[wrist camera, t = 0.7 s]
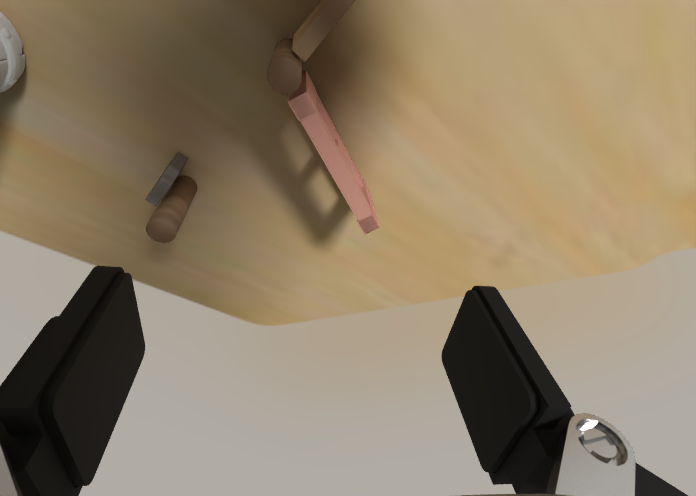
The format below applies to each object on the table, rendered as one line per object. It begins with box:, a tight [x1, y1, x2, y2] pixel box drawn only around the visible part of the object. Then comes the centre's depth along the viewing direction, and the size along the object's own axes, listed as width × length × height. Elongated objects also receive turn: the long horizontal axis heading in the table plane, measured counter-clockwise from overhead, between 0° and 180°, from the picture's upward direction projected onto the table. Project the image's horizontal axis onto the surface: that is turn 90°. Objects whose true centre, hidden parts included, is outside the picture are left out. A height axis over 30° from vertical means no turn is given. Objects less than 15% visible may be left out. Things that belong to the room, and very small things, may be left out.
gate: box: [288, 71, 380, 235], centre depth 35 cm, size 14×2×7 cm, turn 26°
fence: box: [145, 0, 355, 243], centre depth 32 cm, size 26×4×8 cm, turn 136°
